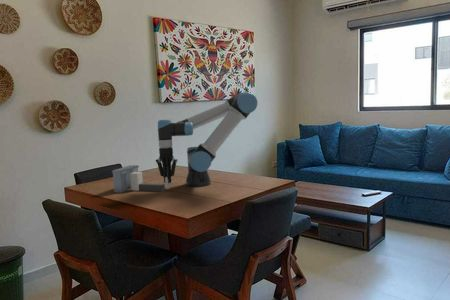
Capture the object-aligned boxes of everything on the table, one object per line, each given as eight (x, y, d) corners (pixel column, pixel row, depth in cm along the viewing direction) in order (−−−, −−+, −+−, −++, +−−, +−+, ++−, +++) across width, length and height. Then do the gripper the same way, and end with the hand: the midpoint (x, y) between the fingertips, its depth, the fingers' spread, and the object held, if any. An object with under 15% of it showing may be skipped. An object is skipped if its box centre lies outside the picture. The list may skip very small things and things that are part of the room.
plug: (165, 189, 217) (164, 172, 216) (161, 191, 213) (160, 174, 211) (135, 188, 224) (134, 171, 223) (130, 190, 220) (129, 173, 218)
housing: (140, 185, 231) (138, 165, 229) (122, 192, 214) (120, 170, 212) (131, 185, 233) (129, 165, 231) (113, 192, 216) (111, 170, 215)
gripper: (179, 146, 212) (181, 187, 215) (158, 146, 217) (161, 186, 219) (173, 148, 205) (175, 190, 208) (152, 147, 210) (154, 189, 212)
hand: (168, 188), depth 214 cm, fingers closed
